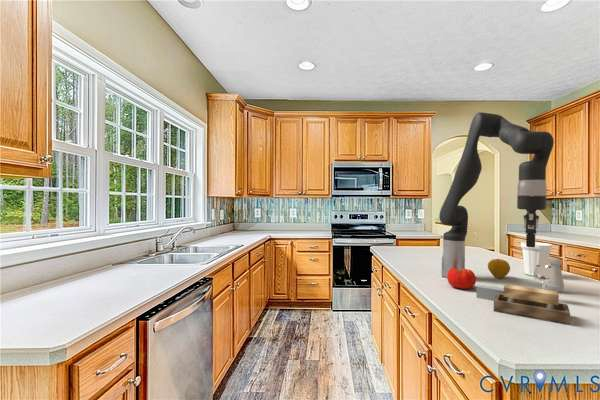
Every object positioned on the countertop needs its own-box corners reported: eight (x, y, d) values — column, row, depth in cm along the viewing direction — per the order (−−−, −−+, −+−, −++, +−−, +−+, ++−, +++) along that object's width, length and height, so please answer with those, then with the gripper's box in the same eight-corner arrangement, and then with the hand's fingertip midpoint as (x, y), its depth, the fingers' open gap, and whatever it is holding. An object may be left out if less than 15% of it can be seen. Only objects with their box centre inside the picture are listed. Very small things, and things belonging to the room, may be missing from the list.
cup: (558, 278, 149) (559, 245, 149) (531, 278, 149) (532, 245, 149) (539, 272, 162) (539, 241, 161) (514, 272, 162) (514, 241, 162)
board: (503, 296, 105) (503, 287, 105) (504, 293, 109) (504, 284, 109) (558, 305, 97) (558, 295, 97) (557, 301, 101) (557, 291, 101)
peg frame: (493, 311, 104) (493, 297, 104) (496, 303, 113) (496, 290, 112) (570, 325, 93) (570, 309, 93) (566, 315, 101) (567, 300, 101)
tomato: (447, 289, 129) (448, 270, 129) (446, 282, 140) (446, 265, 140) (477, 292, 126) (478, 273, 125) (474, 285, 136) (474, 267, 136)
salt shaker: (567, 293, 125) (568, 260, 125) (550, 292, 126) (551, 259, 126) (558, 289, 131) (559, 257, 131) (542, 288, 132) (543, 256, 132)
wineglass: (549, 297, 119) (550, 265, 119) (556, 302, 114) (556, 268, 114) (531, 296, 121) (531, 264, 121) (537, 300, 116) (537, 267, 116)
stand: (476, 297, 119) (476, 286, 119) (477, 294, 122) (478, 284, 122) (515, 304, 112) (515, 292, 112) (516, 301, 115) (516, 289, 115)
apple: (488, 274, 156) (488, 255, 156) (510, 277, 151) (510, 258, 151) (486, 278, 149) (486, 258, 149) (509, 281, 143) (509, 261, 143)
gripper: (518, 194, 111) (517, 242, 111) (516, 194, 99) (515, 247, 99) (545, 194, 106) (544, 244, 106) (547, 194, 95) (546, 249, 95)
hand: (530, 245), depth 103 cm, fingers open, 8 cm apart
